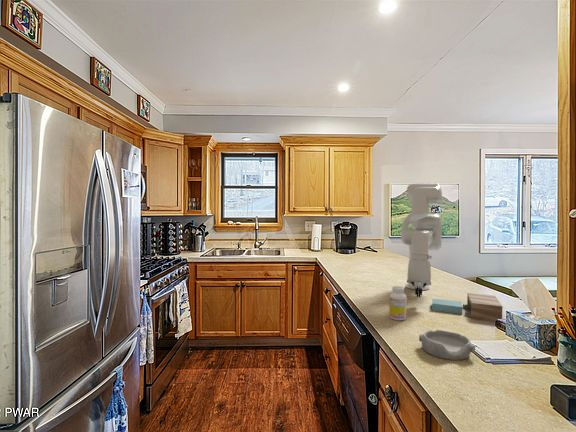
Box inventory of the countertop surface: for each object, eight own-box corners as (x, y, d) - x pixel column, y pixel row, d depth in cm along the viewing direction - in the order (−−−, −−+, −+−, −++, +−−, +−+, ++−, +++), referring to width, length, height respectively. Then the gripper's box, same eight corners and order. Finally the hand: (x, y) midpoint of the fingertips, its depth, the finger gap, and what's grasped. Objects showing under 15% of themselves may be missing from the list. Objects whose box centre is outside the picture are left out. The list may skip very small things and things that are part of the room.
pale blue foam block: (432, 304, 155) (432, 298, 155) (460, 308, 150) (460, 301, 150) (432, 310, 146) (432, 303, 146) (462, 313, 142) (462, 307, 141)
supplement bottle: (394, 314, 140) (394, 284, 139) (408, 318, 135) (409, 287, 135) (386, 318, 135) (386, 287, 135) (401, 322, 130) (402, 290, 130)
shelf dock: (462, 305, 153) (462, 292, 153) (494, 309, 148) (495, 295, 148) (465, 317, 137) (466, 302, 137) (502, 322, 132) (502, 306, 132)
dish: (480, 359, 99) (481, 343, 99) (443, 364, 95) (444, 348, 95) (445, 340, 113) (445, 326, 113) (411, 344, 109) (412, 330, 109)
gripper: (436, 257, 153) (435, 296, 153) (403, 255, 159) (402, 292, 159) (437, 259, 146) (436, 300, 146) (401, 257, 152) (400, 296, 152)
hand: (418, 296), depth 152 cm, fingers closed
